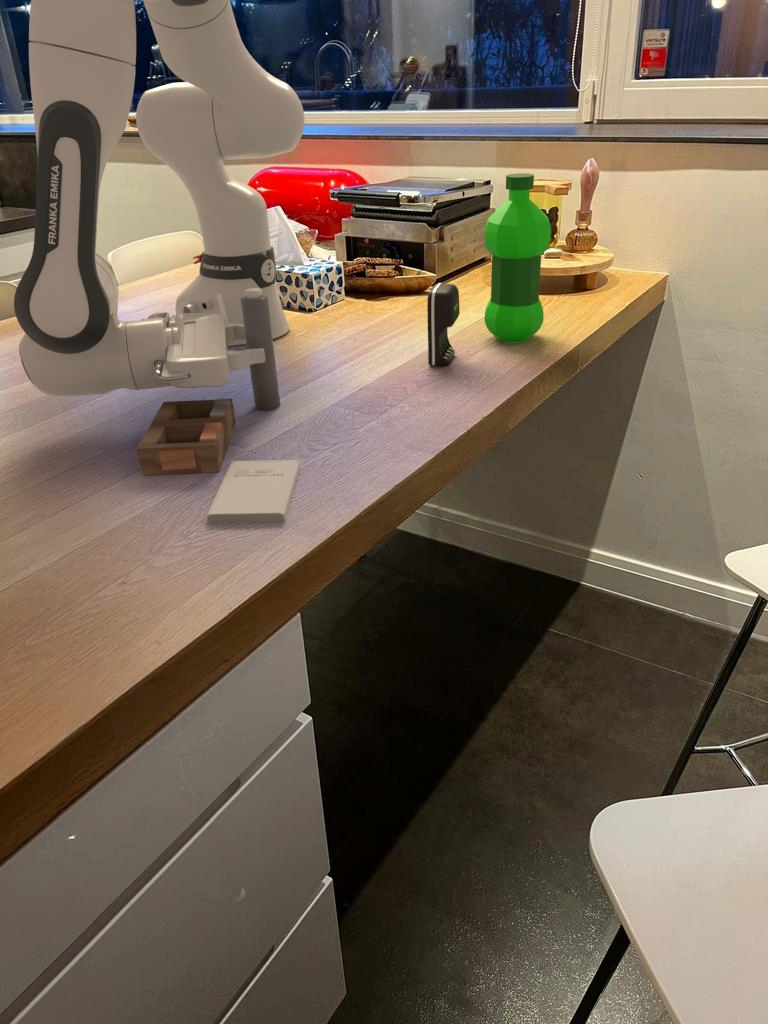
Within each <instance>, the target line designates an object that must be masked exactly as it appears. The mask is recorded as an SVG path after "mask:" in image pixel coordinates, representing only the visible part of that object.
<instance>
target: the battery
mask: <svg viewBox="0 0 768 1024" xmlns="http://www.w3.org/2000/svg"><path fill="white" fill-rule="evenodd" d="M426 305H427V311H426V312H427V347H428V350H427V353H428V354H427V355H428V356H427V357H428V358H427V360H428V361H427V362H428V365H429V366H432V367H433V366H434V367H435V366H448V365H450V363H451V362H452V360H453V358H454V356H455V354H456V352H455V351H456V350H455V349H454V348H453V346H452V345H451V343H450V340H449V337H448V333H449V332H448V328H451V327H453V325H455V323H456V321H457V319H459V316H460V292H459V288H458V287H457V286H456V285H455V284H454V283H453V284H452V283H442V282H438V283H436V284H434V285H433V286H432V287H431V289H430V290H429V291H428V293H427V304H426Z"/></svg>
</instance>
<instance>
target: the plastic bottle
mask: <svg viewBox="0 0 768 1024" xmlns="http://www.w3.org/2000/svg"><path fill="white" fill-rule="evenodd" d="M534 181H535V175H534V174H533V173H527V172H526V173H522V172H521V173H520V172H518V173H509V174H506V175H505V190H508V199H507V200H506V201H505V202H504V203H503V204H502V205H500V206H499V207H498V208H497V209H496V210H495V211H494V212H493V213H492V214H491V215H490V216H489V217H488V219H487V221H486V224H485V227H484V238H483V239H484V245H485V249H486V250H487V251H488V253H489V254H490V255H491V277H490V278H491V282H490V283H491V284H490V286H491V287H490V288H491V289H490V298H489V300H488V301H487V305H486V306H485V312H484V323H485V324H484V325H485V327H486V329H487V330H488V331H489V333H490V334H492V335H493V336H494V337H495V338H497V340H498V341H500V342H502V343H507V344H517V343H518V344H519V343H524V342H526V341H528V340H529V339H530V338H531V337H533V336H534V335H535V334H537V333H538V331H539V330H540V329H541V328H542V325H543V324H544V308H543V304H542V302H541V300H540V299H541V298H540V284H541V282H540V281H541V267H542V266H541V265H542V255H543V254H544V253H545V252H546V251H547V250H548V249H549V247H550V242H551V239H552V238H551V236H552V227H551V223H550V218H549V217H548V215H546V213H545V212H544V211H543V210H542V209H541V208H540V207H539V206H538V205H537V204H536V203H535V202H534V201H532V199H531V198H530V194H531V193H530V192H531V191H530V190H532V189H534V183H535V182H534Z"/></svg>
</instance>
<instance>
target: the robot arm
mask: <svg viewBox="0 0 768 1024" xmlns="http://www.w3.org/2000/svg"><path fill="white" fill-rule="evenodd" d="M142 1H143V4H144V6H145V7H144V8H145V10H146V12H147V16H148V19H149V21H150V25H151V27H152V31H153V35H154V36H155V39H156V42H157V47H158V49H159V53H160V55H161V58H162V60H163V62H164V63H165V65H166V66H167V68H168V69H169V70H170V71H171V72H172V73H173V74H174V75H175V76H176V77H177V78H179V80H180V79H181V80H182V81H183V82H172V83H168V84H165V85H160V86H158V87H154V88H151V89H148V90H145V91H144V92H143V94H142V95H141V97H140V99H139V101H138V104H137V108H136V114H135V115H136V116H135V121H136V128H137V131H138V135H139V138H140V140H141V142H142V143H143V145H144V146H145V148H146V149H147V150H148V151H149V153H150V154H152V155H153V156H154V157H155V158H157V159H158V160H160V161H162V162H163V163H164V164H165V165H166V166H168V167H169V168H170V169H171V170H172V171H173V172H174V173H175V174H176V175H177V176H178V179H180V180H181V181H182V183H183V184H184V186H185V187H186V189H187V191H188V193H189V194H190V195H189V196H190V197H191V199H192V201H193V204H194V206H195V210H196V214H197V219H198V223H199V227H200V232H201V238H202V244H203V249H204V251H203V252H202V253H201V254H198V255H195V256H193V257H192V259H197V260H195V261H193V262H192V263H193V265H196V264H199V263H200V265H199V274H198V275H197V276H196V277H195V279H193V280H192V282H190V283H189V284H188V285H187V287H185V289H183V290H182V291H181V292H180V293H179V295H178V296H177V298H176V301H175V314H174V315H173V314H172V315H171V316H170V314H169V312H168V311H157V312H154V313H152V314H150V315H149V316H148V317H146V318H142V319H138V320H127V321H122V320H120V319H119V317H118V299H119V285H118V280H117V278H116V276H115V274H114V273H115V272H114V271H113V269H112V267H111V265H109V264H108V262H107V261H106V260H105V259H104V258H103V257H102V256H100V255H99V254H98V253H96V252H97V251H96V250H97V234H98V218H99V202H100V200H99V197H100V189H101V183H102V179H103V175H104V171H105V169H106V166H107V164H108V161H109V160H110V159H109V158H111V157H110V156H111V155H112V152H114V149H115V147H116V146H117V144H118V143H119V141H120V139H121V138H122V136H123V134H124V132H125V130H126V127H127V123H128V120H129V116H130V111H131V106H132V101H133V96H134V90H135V79H136V63H137V62H136V61H137V58H136V57H137V24H136V22H137V21H136V20H137V19H136V7H135V0H30V8H29V22H28V23H29V24H28V25H29V26H28V28H29V29H28V30H29V31H28V41H29V42H28V62H29V63H28V66H29V80H30V81H29V83H30V93H31V102H32V110H33V118H34V119H33V120H34V129H35V140H36V153H37V165H36V166H37V169H36V170H37V171H36V194H35V195H36V196H35V197H36V198H35V216H34V218H35V219H34V234H33V235H34V238H33V239H34V240H33V249H32V253H31V258H30V260H29V263H28V265H27V267H26V269H25V271H24V273H23V275H22V277H21V278H20V280H19V283H18V284H17V287H16V290H15V293H14V298H13V307H14V308H13V309H14V310H13V311H14V313H15V317H16V320H17V322H18V324H19V325H20V328H21V329H22V331H23V332H24V334H23V336H22V338H21V339H20V340H19V345H18V346H19V347H18V349H19V356H20V361H21V365H22V368H23V370H24V371H25V374H26V375H27V378H28V379H29V380H30V382H31V384H32V385H33V386H34V387H35V388H36V389H38V390H39V391H40V392H42V393H43V394H46V395H49V396H58V397H80V396H93V395H94V396H95V395H104V394H107V393H110V392H112V391H116V390H121V389H123V390H124V389H126V390H132V391H140V390H150V389H158V388H159V389H160V388H169V387H174V388H177V389H195V388H196V389H197V388H198V389H199V388H214V387H221V386H224V385H227V384H229V383H231V371H236V370H237V371H238V370H241V369H243V368H246V367H250V365H252V364H257V363H263V362H265V352H264V348H263V347H262V346H257V347H250V349H247V348H246V349H243V350H238V351H237V350H236V349H234V350H229V347H232V346H237V345H247V343H246V336H245V329H244V321H243V314H242V306H241V298H242V297H244V296H245V290H246V289H250V288H260V289H262V295H266V296H268V304H269V312H270V321H271V329H272V338H273V340H275V339H277V338H280V337H282V336H283V335H285V334H287V333H288V331H289V330H290V326H289V323H288V321H287V319H286V318H287V317H286V316H285V313H284V310H283V306H282V302H281V299H280V294H279V291H278V284H277V280H276V278H277V266H276V265H277V264H276V263H277V262H276V258H275V249H274V247H273V246H272V245H271V236H270V226H269V219H268V211H267V210H268V209H267V203H266V201H265V199H264V197H263V196H262V195H261V193H260V192H258V191H257V189H255V188H253V187H251V185H248V184H245V183H244V182H241V181H239V180H237V179H235V178H233V177H232V176H231V175H230V173H229V172H228V171H227V168H226V167H225V164H224V161H226V160H228V161H229V160H230V161H231V160H246V159H247V160H249V159H251V160H253V159H267V158H271V157H275V156H279V155H283V154H285V153H289V152H293V151H294V150H295V149H296V148H297V146H298V145H299V144H300V142H301V140H302V137H303V133H304V129H305V114H304V113H305V112H304V107H303V105H302V102H301V99H300V98H299V96H298V94H297V93H296V92H295V90H294V89H293V88H292V87H291V86H290V85H289V84H288V83H286V82H285V81H283V80H281V79H279V78H276V77H275V76H274V75H272V74H270V73H269V72H267V71H266V69H265V68H263V67H262V66H261V65H260V64H259V63H258V62H257V61H256V60H255V59H254V58H253V56H252V55H251V54H250V53H249V50H248V49H247V48H246V46H245V44H244V43H243V40H242V38H241V34H240V31H239V29H238V26H237V22H236V18H235V15H234V11H233V8H232V4H231V3H232V2H231V0H142Z"/></svg>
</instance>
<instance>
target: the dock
mask: <svg viewBox="0 0 768 1024" xmlns="http://www.w3.org/2000/svg"><path fill="white" fill-rule="evenodd" d="M236 421H237V420H236V416H235V410H234V402H233V398H220V399H217V398H216V399H200V400H177V401H163V402H162V403H161V406H160V407H159V409H158V411H157V412H156V414H155V416H154V418H153V419H152V421H151V423H150V425H149V427H148V428H147V430H146V432H145V433H144V435H143V437H142V439H141V440H140V442H139V444H138V445H137V447H136V451H137V456H138V461H139V466H140V470H141V474H142V475H141V476H144V477H145V476H164V475H165V476H166V475H182V474H183V475H186V474H203V473H220V471H221V468H222V465H223V462H224V458H225V456H226V453H227V450H228V447H229V444H230V442H231V438H232V435H233V432H234V430H235V427H236V424H237V422H236Z"/></svg>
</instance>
